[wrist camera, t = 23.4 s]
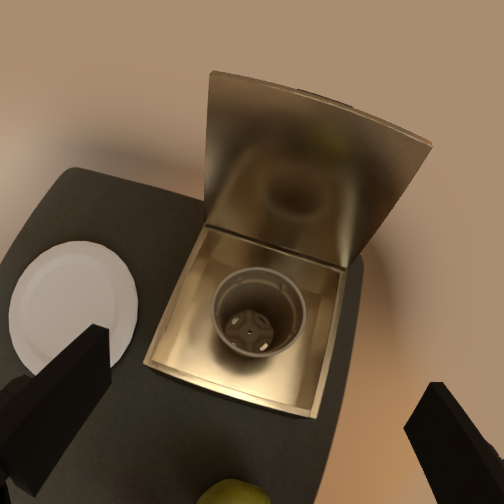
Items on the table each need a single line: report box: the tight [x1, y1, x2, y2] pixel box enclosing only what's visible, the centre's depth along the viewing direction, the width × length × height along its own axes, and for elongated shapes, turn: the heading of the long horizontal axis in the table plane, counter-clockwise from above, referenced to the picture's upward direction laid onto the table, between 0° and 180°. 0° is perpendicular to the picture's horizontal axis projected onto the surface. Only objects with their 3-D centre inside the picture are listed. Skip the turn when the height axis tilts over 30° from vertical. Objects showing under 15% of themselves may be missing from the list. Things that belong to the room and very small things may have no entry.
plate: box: [9, 241, 138, 376], centre depth 34 cm, size 21×21×2 cm
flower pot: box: [210, 267, 306, 358], centre depth 33 cm, size 9×9×9 cm
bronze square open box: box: [143, 223, 347, 419], centre depth 34 cm, size 18×18×8 cm
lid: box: [204, 71, 432, 269], centre depth 28 cm, size 18×18×5 cm
